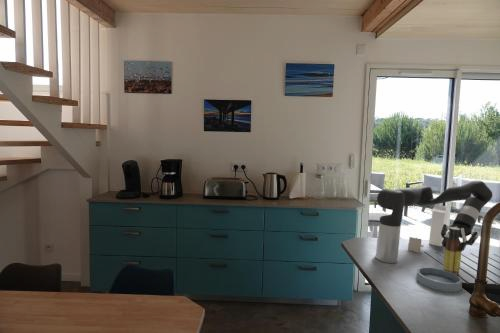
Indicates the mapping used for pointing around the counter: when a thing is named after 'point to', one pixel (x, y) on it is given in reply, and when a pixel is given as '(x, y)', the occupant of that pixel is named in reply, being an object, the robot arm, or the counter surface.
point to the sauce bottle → (452, 252)
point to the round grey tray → (439, 279)
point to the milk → (437, 224)
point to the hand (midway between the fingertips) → (451, 248)
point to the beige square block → (414, 244)
